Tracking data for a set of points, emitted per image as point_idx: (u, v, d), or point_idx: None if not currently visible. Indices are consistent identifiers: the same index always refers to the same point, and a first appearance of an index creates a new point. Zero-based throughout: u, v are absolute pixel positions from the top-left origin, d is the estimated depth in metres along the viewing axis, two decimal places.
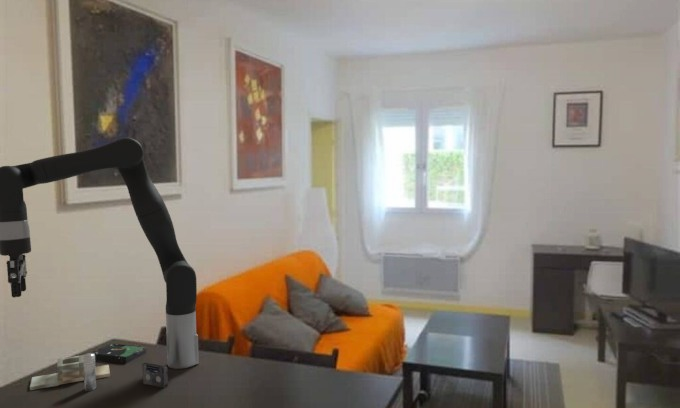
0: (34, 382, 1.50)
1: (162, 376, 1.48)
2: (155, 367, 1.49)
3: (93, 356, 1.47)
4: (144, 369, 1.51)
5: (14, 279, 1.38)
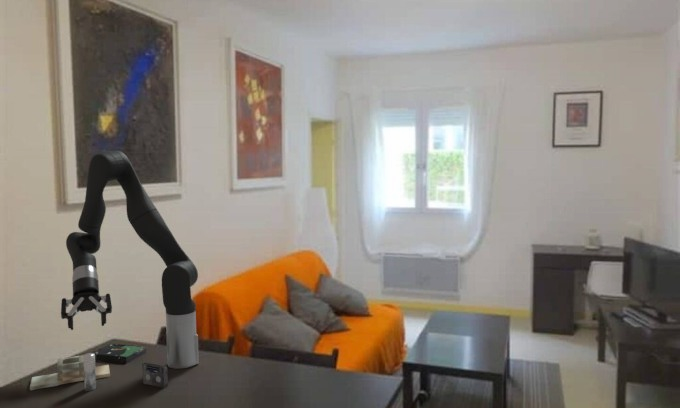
0: (34, 382, 1.50)
1: (162, 376, 1.48)
2: (155, 367, 1.49)
3: (93, 356, 1.47)
4: (144, 369, 1.50)
5: None
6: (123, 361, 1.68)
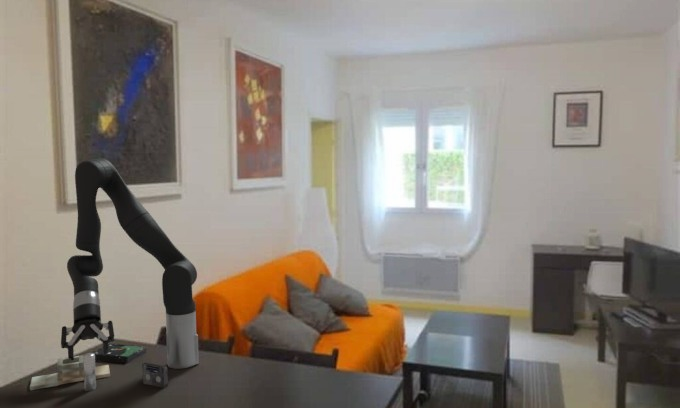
0: (34, 382, 1.50)
1: (162, 376, 1.48)
2: (155, 367, 1.49)
3: (93, 356, 1.47)
4: (144, 369, 1.50)
5: (61, 343, 1.49)
6: (123, 361, 1.68)
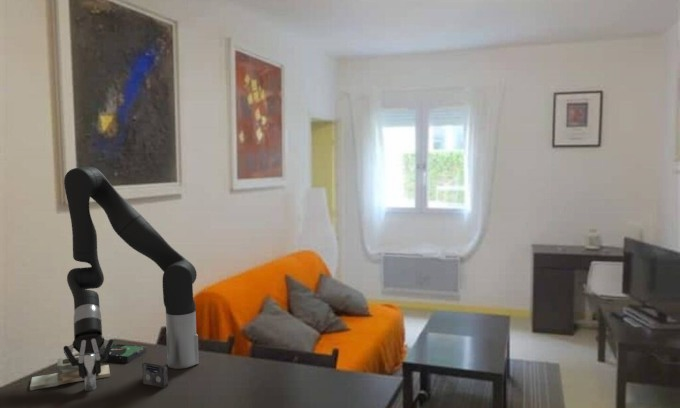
0: (34, 382, 1.50)
1: (162, 376, 1.48)
2: (155, 367, 1.49)
3: (93, 356, 1.47)
4: (144, 369, 1.50)
5: None
6: (124, 361, 1.68)
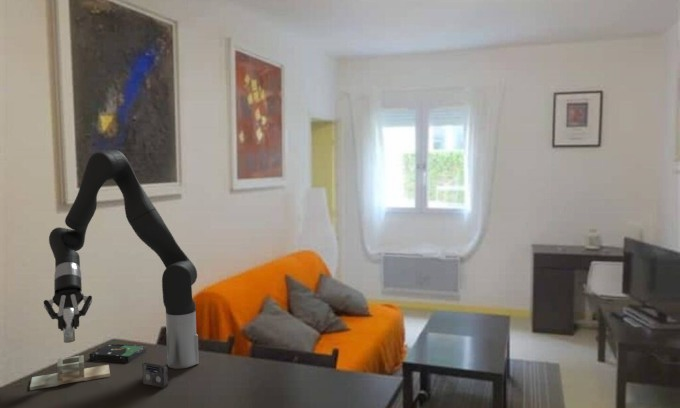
0: (34, 382, 1.50)
1: (162, 376, 1.48)
2: (155, 367, 1.49)
3: (72, 310, 1.53)
4: (144, 369, 1.51)
5: None
6: (125, 361, 1.68)
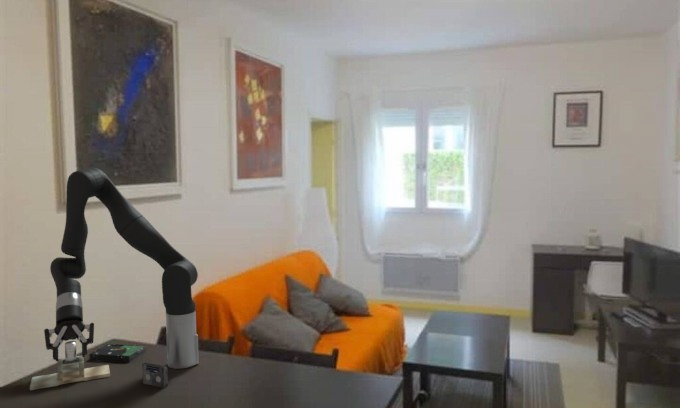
0: (34, 382, 1.50)
1: (162, 376, 1.48)
2: (155, 367, 1.49)
3: (74, 344, 1.54)
4: (144, 369, 1.50)
5: None
6: (125, 360, 1.68)
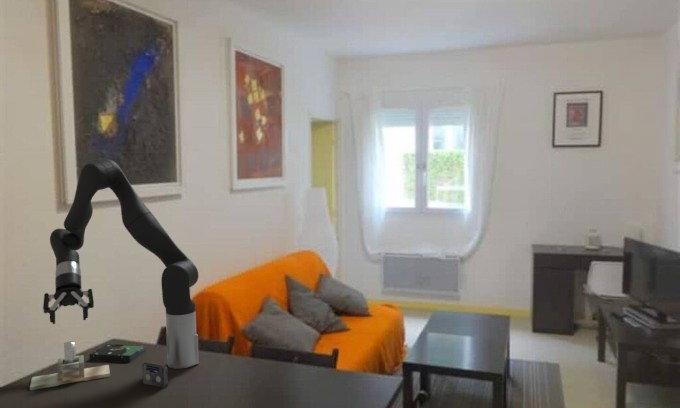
0: (34, 382, 1.50)
1: (162, 376, 1.48)
2: (155, 367, 1.49)
3: (73, 344, 1.54)
4: (144, 369, 1.50)
5: None
6: (126, 360, 1.68)
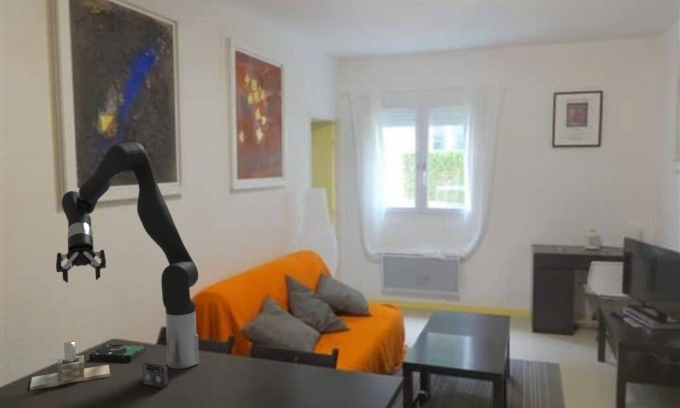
0: (34, 382, 1.50)
1: (162, 376, 1.48)
2: (155, 367, 1.49)
3: (73, 344, 1.54)
4: (144, 369, 1.51)
5: None
6: (127, 360, 1.69)
